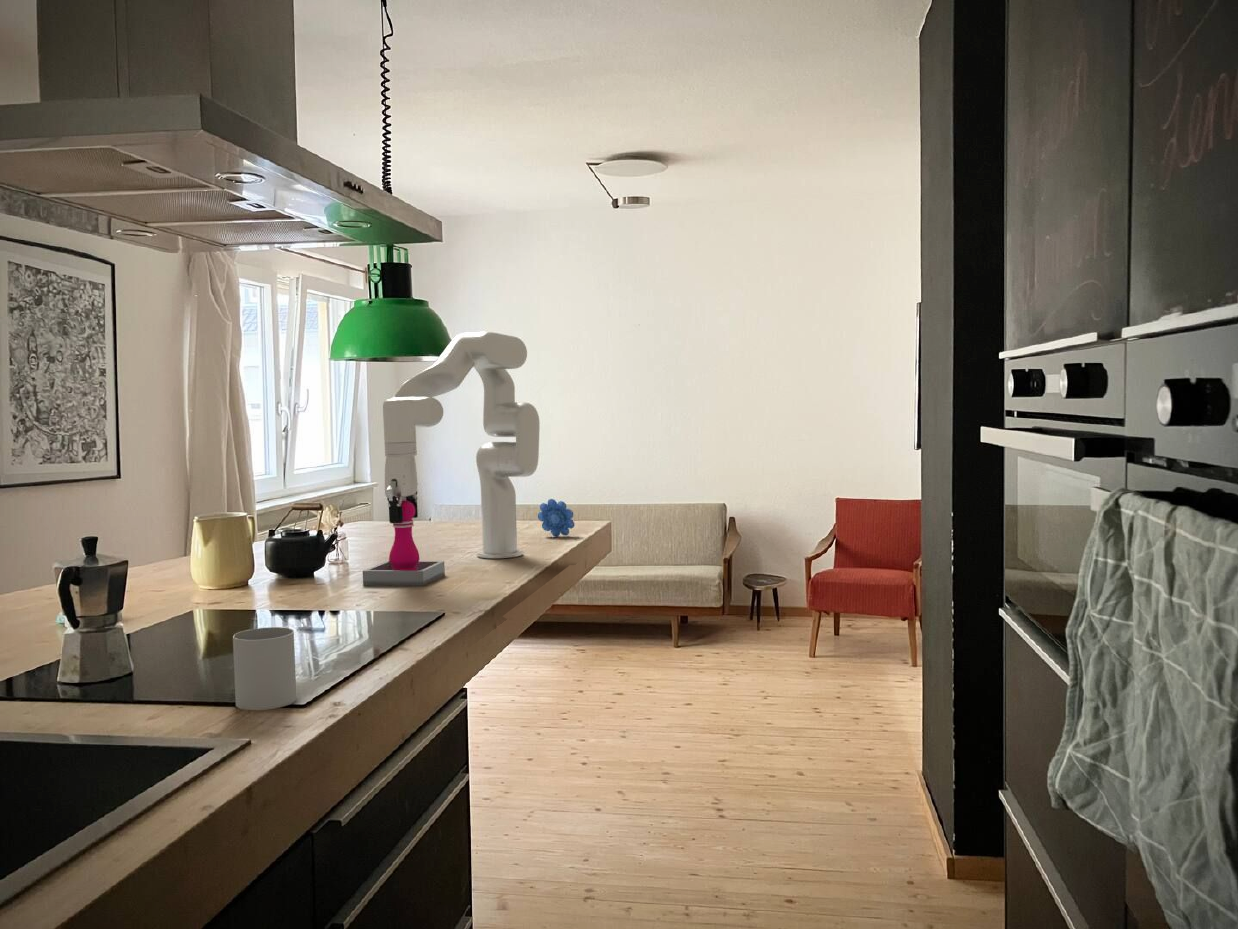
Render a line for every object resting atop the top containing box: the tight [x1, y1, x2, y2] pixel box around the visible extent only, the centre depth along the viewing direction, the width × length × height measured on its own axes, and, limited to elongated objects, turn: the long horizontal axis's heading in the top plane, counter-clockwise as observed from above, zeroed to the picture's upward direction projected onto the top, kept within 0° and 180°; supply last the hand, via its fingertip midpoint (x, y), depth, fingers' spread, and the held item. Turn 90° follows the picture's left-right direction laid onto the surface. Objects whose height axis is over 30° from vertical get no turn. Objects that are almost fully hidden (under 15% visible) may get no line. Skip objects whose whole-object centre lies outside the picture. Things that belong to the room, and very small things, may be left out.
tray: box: [362, 560, 446, 587], centre depth 251 cm, size 15×15×4 cm
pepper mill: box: [388, 497, 420, 571], centre depth 250 cm, size 7×7×20 cm
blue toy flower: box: [537, 498, 575, 537], centre depth 324 cm, size 12×7×12 cm, turn 86°
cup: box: [232, 626, 297, 711], centre depth 150 cm, size 8×8×10 cm
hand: (403, 520), depth 250 cm, fingers open, 9 cm apart
